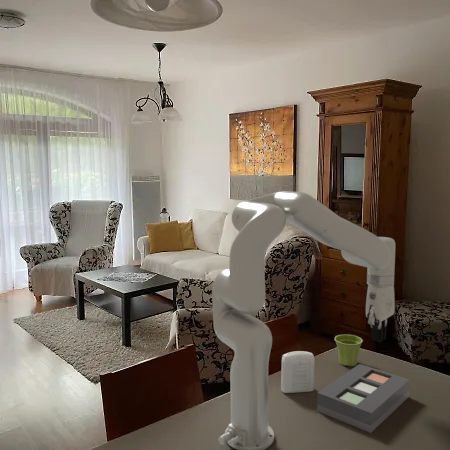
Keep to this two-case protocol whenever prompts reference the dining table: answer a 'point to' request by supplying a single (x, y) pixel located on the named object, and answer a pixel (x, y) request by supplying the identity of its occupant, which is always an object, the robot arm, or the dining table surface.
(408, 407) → the dining table surface
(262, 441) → the robot arm
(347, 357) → the plant pot
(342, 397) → the sage key
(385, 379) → the terracotta key
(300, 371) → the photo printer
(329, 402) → the keypad
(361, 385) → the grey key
